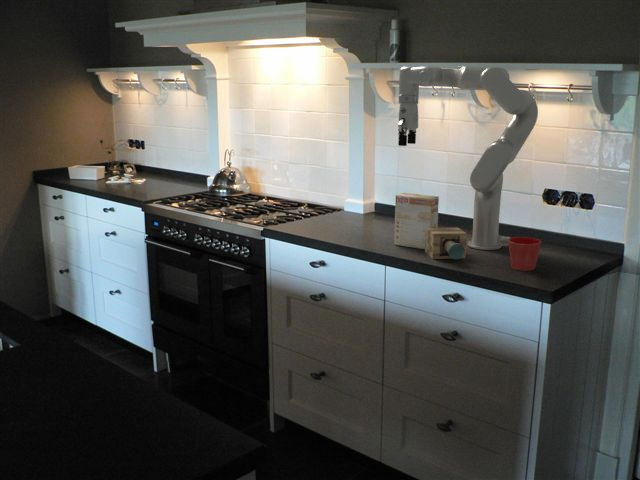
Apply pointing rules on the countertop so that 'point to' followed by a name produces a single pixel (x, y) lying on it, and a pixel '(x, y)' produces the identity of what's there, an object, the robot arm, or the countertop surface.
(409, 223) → the coffeecake box
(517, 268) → the flower pot
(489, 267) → the countertop surface
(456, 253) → the peg
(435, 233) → the block
